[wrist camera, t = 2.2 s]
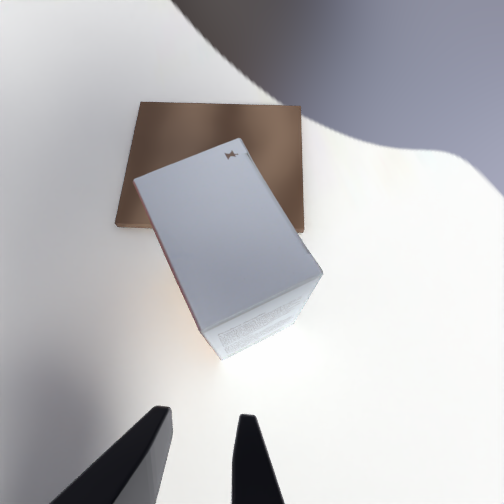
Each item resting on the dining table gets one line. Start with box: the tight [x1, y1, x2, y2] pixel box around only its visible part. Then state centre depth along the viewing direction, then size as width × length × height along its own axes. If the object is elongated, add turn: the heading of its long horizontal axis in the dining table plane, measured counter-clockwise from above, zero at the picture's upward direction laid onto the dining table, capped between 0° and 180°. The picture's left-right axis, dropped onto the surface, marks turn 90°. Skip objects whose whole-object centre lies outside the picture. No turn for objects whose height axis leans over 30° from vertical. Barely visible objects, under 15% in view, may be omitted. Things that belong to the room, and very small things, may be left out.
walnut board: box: [115, 102, 304, 233], centre depth 29 cm, size 14×12×1 cm
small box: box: [133, 138, 323, 360], centre depth 20 cm, size 8×6×10 cm
